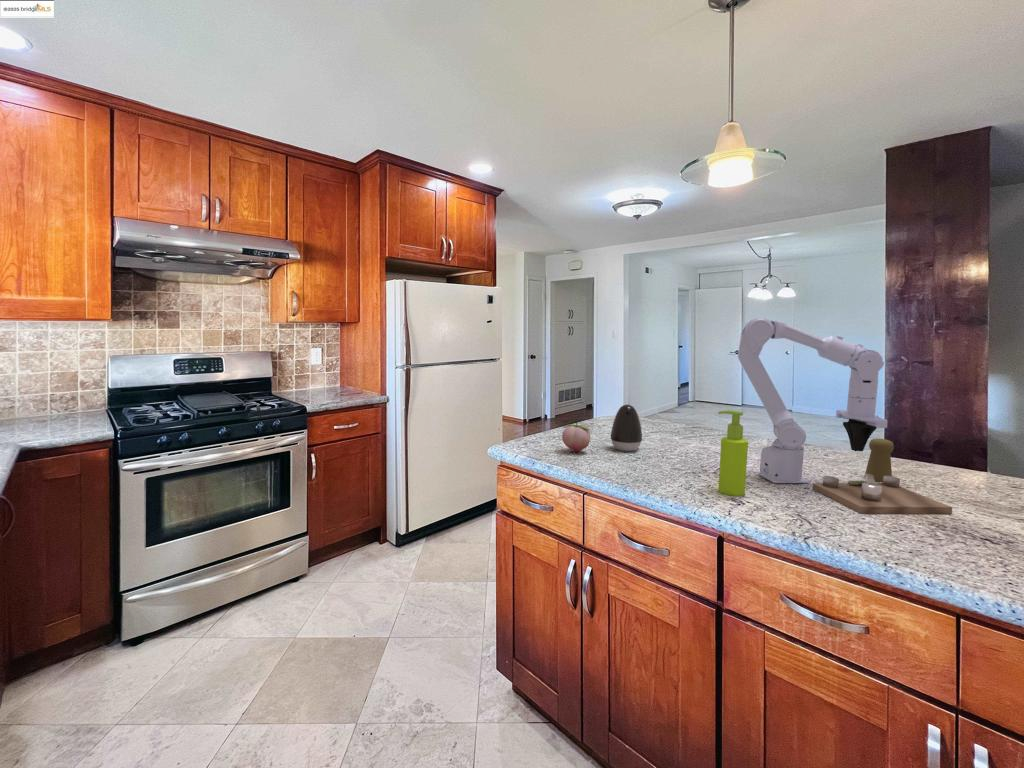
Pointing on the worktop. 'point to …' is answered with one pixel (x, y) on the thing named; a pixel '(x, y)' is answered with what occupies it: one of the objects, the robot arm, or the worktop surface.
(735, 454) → the soap dispenser
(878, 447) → the cork
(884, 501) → the brown latch board
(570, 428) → the decorative fruit
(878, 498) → the lever handle
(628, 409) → the black rounded dome
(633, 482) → the worktop surface
